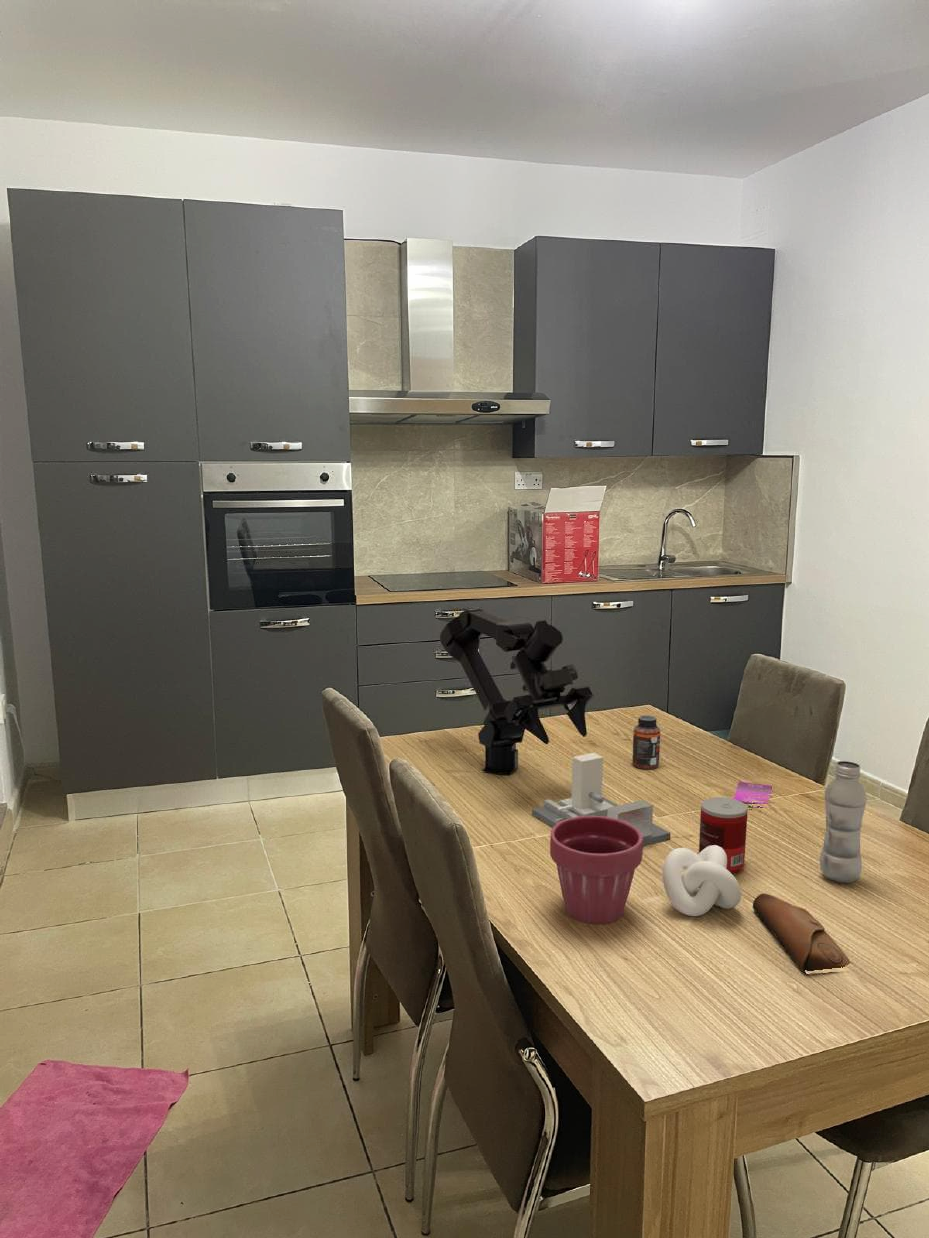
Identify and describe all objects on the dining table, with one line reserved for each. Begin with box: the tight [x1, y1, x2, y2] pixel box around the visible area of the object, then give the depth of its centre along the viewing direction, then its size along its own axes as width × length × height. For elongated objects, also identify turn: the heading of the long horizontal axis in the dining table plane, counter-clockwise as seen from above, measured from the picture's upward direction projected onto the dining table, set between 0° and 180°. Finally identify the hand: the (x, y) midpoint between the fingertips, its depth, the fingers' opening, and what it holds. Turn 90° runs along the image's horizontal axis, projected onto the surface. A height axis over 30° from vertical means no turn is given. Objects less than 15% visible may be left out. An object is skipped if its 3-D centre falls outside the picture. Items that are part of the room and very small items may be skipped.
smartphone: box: [733, 781, 774, 812], centre depth 190 cm, size 7×15×1 cm, turn 158°
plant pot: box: [549, 816, 644, 925], centre depth 142 cm, size 14×14×13 cm
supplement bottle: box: [632, 715, 661, 770], centre depth 207 cm, size 6×6×11 cm
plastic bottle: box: [819, 760, 868, 884], centre depth 152 cm, size 6×7×20 cm
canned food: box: [698, 796, 749, 875], centre depth 158 cm, size 8×8×11 cm
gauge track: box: [531, 796, 671, 847], centre depth 175 cm, size 22×16×2 cm
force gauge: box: [558, 752, 612, 817], centre depth 176 cm, size 8×10×11 cm
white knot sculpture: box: [662, 845, 742, 917], centre depth 144 cm, size 11×12×9 cm
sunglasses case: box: [752, 893, 851, 973], centre depth 135 cm, size 18×7×7 cm
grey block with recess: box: [607, 799, 654, 838], centre depth 167 cm, size 3×8×6 cm, turn 119°
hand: (566, 739), depth 183 cm, fingers open, 9 cm apart
